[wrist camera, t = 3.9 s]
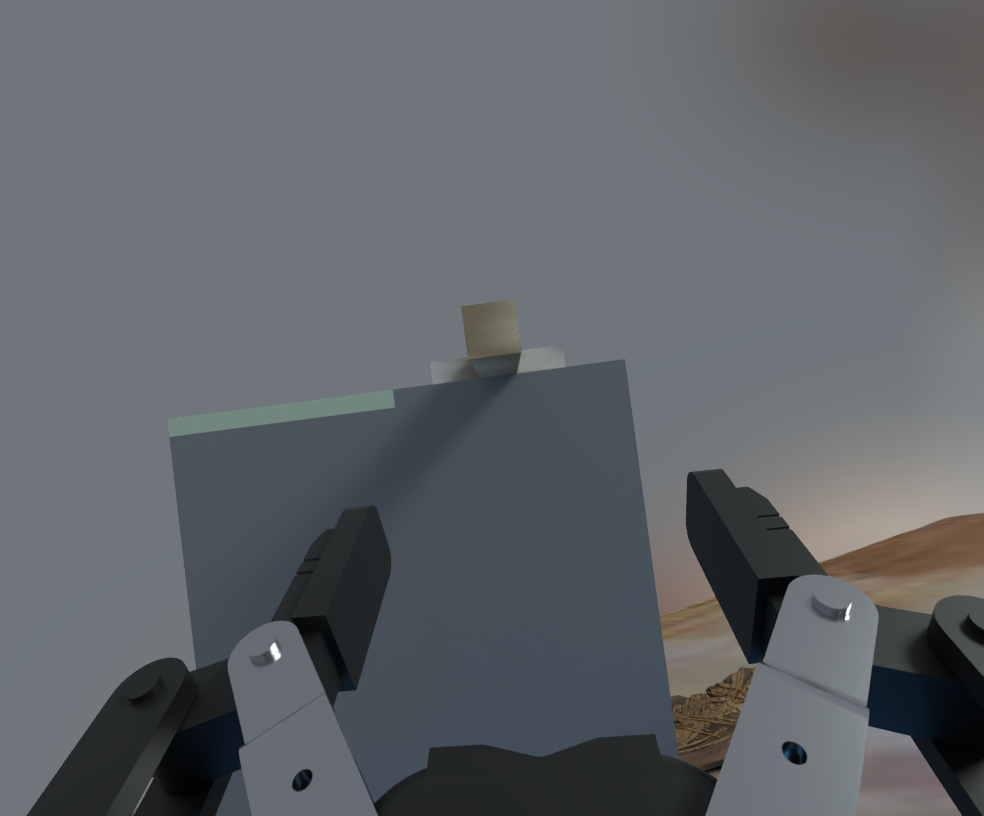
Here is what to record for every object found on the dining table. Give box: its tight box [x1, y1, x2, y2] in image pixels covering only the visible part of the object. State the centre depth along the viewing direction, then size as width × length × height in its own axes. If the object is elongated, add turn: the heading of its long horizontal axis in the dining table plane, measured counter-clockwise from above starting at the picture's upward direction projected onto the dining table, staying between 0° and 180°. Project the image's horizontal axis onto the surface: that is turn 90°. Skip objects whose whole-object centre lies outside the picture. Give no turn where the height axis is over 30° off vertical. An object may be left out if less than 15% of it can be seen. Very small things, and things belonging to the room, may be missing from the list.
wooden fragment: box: [670, 667, 756, 771], centre depth 43 cm, size 26×11×1 cm, turn 111°
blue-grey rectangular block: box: [168, 359, 679, 816], centre depth 33 cm, size 26×12×32 cm, turn 88°
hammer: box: [431, 299, 566, 384], centre depth 28 cm, size 8×20×2 cm, turn 178°
